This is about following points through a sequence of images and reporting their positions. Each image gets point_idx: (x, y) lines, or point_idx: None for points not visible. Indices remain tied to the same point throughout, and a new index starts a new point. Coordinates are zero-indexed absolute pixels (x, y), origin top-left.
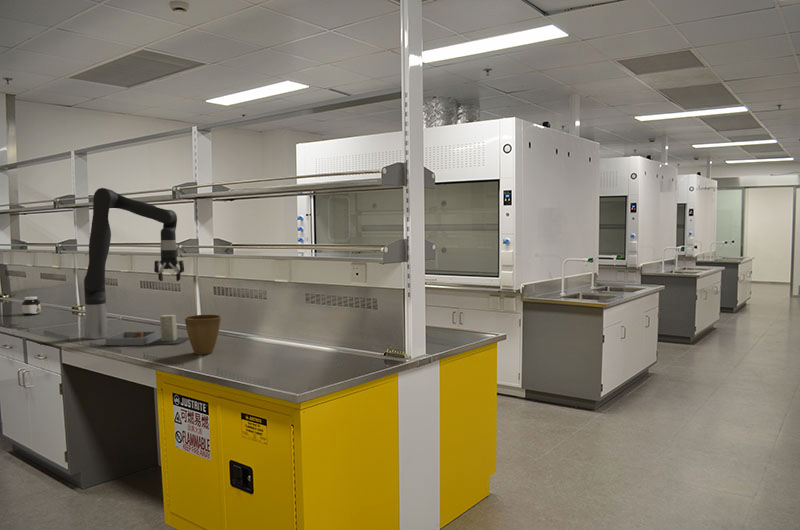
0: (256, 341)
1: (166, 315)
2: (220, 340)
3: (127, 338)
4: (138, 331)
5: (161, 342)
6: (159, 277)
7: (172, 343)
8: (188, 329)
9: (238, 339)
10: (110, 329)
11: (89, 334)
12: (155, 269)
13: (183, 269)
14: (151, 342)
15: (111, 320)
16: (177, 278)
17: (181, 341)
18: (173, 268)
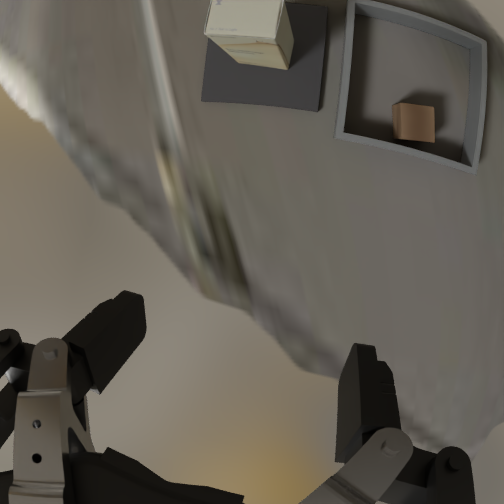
0: (36, 74)
1: (251, 15)
2: (105, 75)
3: (411, 11)
4: (421, 138)
5: None
6: (381, 387)
7: None
8: None
9: (68, 94)
10: (498, 351)
11: None
12: (458, 493)
13: (6, 388)
14: (325, 21)
15: (471, 444)
16: (112, 305)
17: None
18: (46, 415)
